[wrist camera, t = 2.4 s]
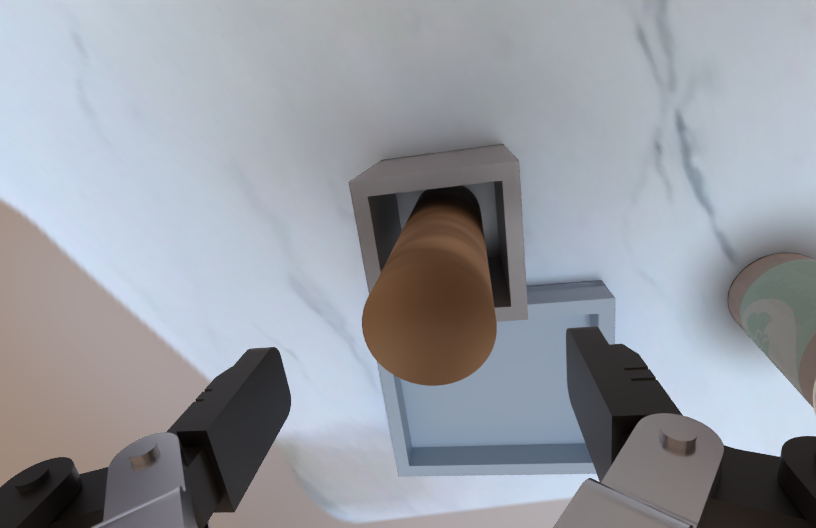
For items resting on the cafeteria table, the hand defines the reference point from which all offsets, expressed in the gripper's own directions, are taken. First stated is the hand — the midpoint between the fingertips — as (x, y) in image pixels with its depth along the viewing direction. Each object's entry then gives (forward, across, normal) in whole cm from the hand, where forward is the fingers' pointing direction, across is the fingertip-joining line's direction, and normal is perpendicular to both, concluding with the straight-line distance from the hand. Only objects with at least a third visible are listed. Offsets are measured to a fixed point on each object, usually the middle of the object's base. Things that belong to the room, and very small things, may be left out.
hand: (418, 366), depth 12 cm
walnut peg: (+18, 0, 0) cm, 18 cm away
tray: (+19, -2, +13) cm, 23 cm away
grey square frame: (+19, 0, 0) cm, 19 cm away
